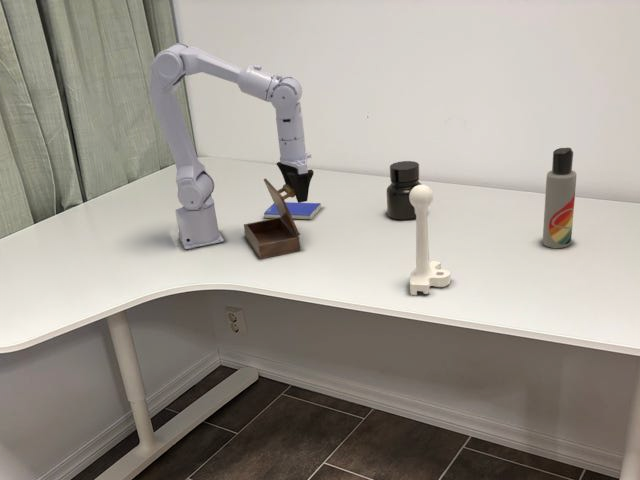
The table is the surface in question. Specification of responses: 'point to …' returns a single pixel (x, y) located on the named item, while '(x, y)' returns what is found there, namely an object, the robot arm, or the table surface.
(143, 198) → the table surface
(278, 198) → the lid
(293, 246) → the case
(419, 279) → the joystick
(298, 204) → the hard drive
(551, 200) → the lotion bottle
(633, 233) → the table surface
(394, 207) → the ink bottle
